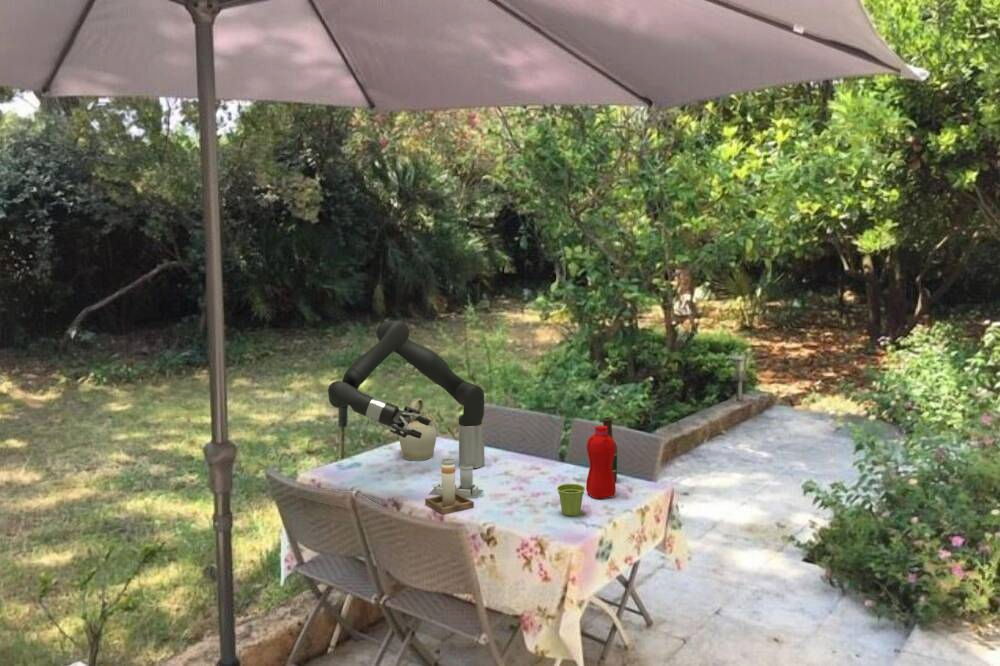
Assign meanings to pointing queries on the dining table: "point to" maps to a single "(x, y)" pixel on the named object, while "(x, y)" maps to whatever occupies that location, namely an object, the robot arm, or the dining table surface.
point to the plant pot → (571, 498)
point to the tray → (460, 505)
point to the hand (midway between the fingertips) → (425, 429)
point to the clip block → (458, 491)
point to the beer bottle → (608, 423)
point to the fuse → (466, 477)
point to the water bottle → (601, 464)
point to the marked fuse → (448, 482)
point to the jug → (415, 446)
